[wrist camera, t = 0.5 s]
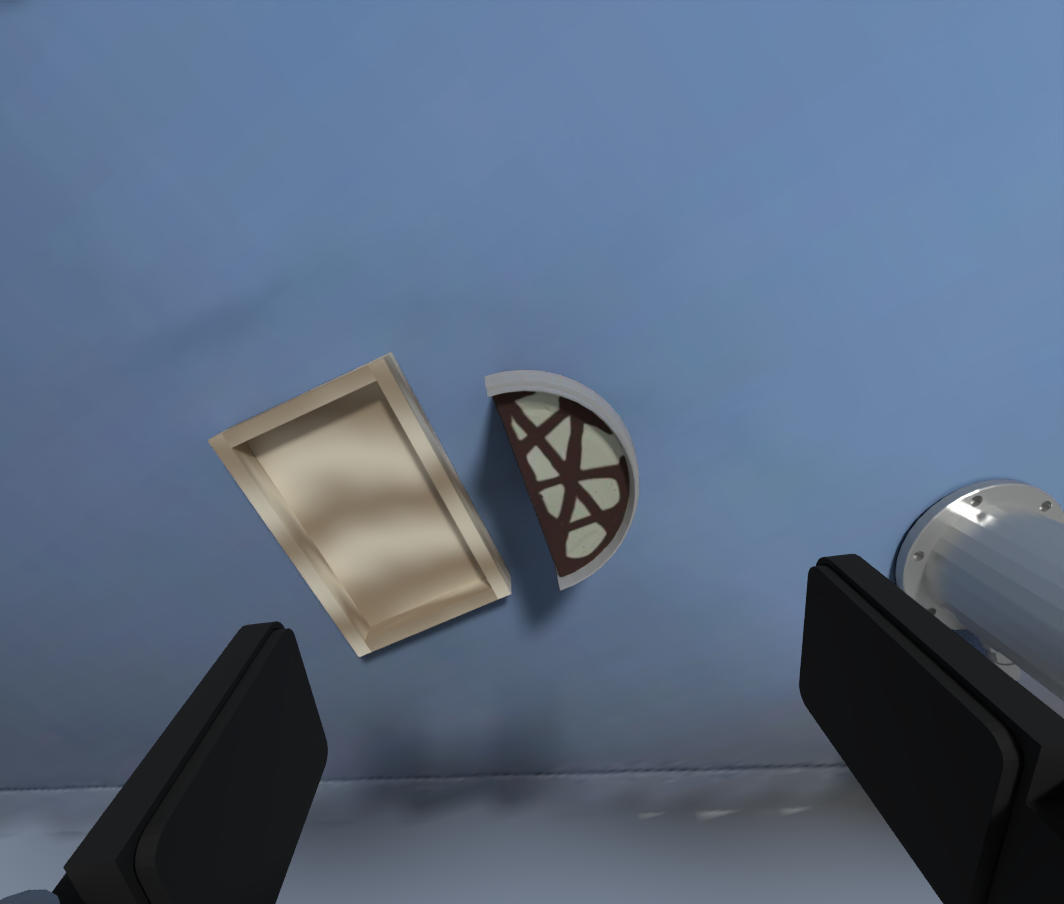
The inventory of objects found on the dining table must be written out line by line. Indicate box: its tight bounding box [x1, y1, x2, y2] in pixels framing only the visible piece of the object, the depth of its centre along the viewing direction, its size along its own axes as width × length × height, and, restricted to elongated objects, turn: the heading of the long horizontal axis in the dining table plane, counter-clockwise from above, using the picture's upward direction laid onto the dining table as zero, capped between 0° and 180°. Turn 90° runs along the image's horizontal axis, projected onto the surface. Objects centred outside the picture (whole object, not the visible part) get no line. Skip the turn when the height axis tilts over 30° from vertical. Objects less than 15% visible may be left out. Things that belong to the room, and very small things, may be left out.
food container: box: [485, 370, 639, 591], centre depth 31 cm, size 12×6×10 cm, turn 19°
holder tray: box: [208, 352, 511, 657], centre depth 35 cm, size 18×12×2 cm, turn 24°
